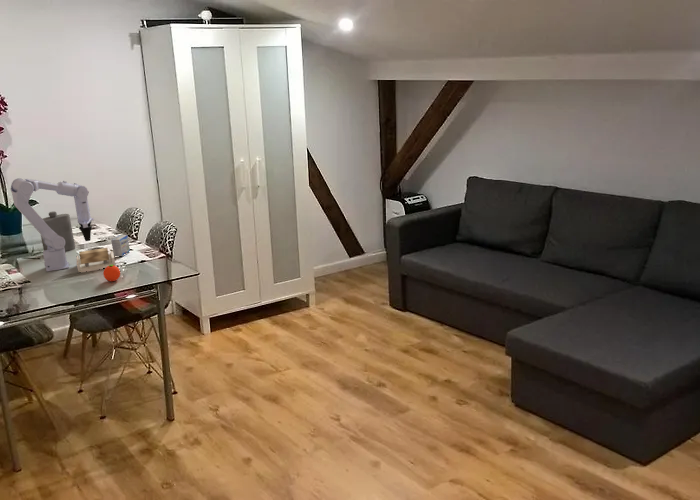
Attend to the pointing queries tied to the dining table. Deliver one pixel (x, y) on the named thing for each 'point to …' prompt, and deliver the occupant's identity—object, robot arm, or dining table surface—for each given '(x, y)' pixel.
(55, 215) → the flask
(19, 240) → the dining table surface
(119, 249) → the medicine box
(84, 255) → the wooden block
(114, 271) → the clementine
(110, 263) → the peg frame
